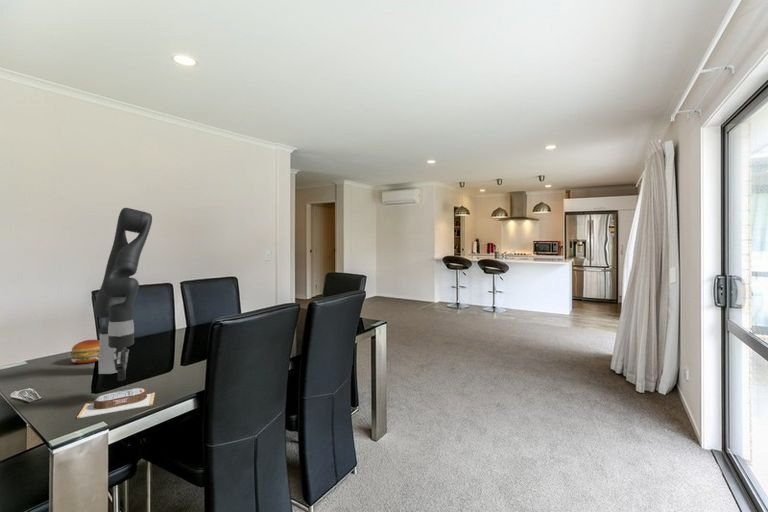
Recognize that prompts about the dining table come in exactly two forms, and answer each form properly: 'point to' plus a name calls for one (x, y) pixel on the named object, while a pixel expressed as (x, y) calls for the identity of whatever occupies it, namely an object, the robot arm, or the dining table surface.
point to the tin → (120, 398)
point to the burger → (86, 351)
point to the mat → (91, 411)
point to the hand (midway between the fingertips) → (121, 380)
